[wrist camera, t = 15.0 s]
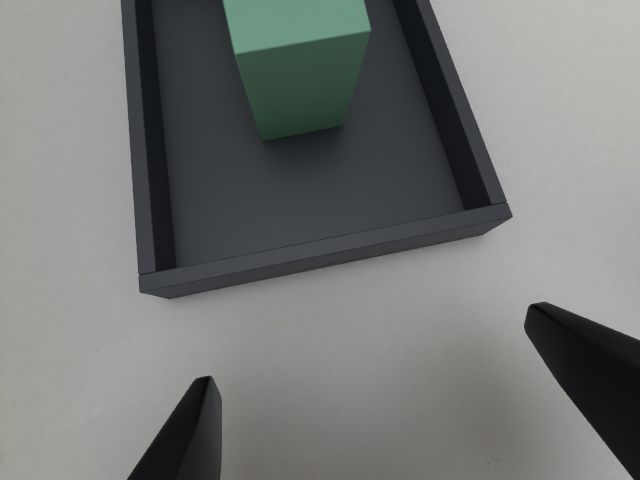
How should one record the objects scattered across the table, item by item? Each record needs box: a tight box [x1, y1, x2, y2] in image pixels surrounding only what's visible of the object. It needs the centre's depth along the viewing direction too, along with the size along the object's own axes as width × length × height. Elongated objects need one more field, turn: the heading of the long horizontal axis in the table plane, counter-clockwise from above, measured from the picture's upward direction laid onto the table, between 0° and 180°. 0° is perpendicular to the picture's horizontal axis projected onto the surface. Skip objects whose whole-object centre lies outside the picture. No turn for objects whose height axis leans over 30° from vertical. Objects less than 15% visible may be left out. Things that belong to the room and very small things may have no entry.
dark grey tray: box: [121, 0, 513, 299], centre depth 19 cm, size 22×18×3 cm
